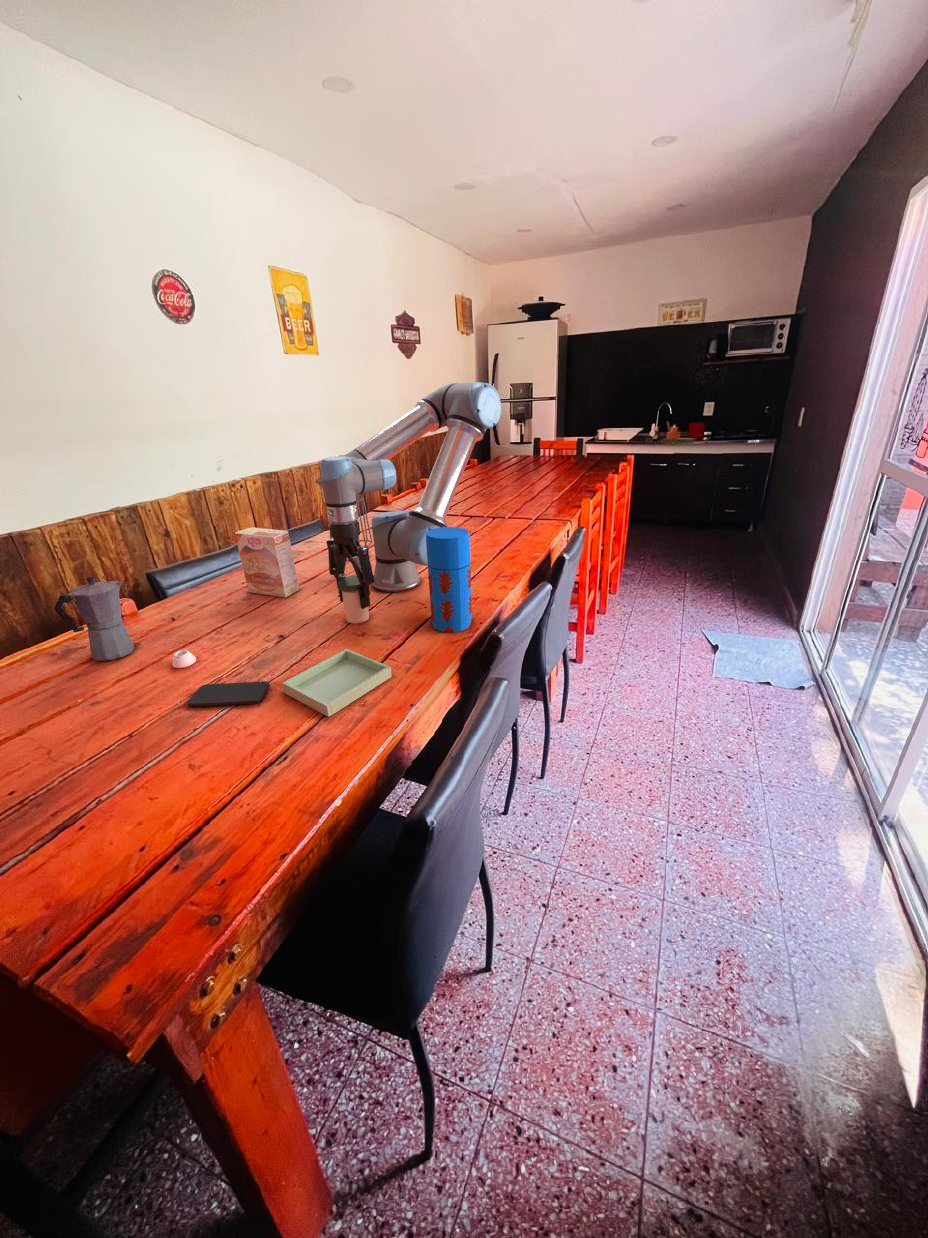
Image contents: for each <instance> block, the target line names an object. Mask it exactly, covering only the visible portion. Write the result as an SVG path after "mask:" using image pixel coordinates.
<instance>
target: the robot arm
mask: <svg viewBox="0 0 928 1238" xmlns="http://www.w3.org/2000/svg"><path fill="white" fill-rule="evenodd" d="M500 397H501V396H500V394H499V392H498V390H497V388H496V387H495V386H493V385H492V384H491V383H488V382H480V381H475V382H462V383H461V382H460V383H459V382H458V383H457V382H455V383H453V382H452V383H448V384H445V385H443V386H441V387H439V388H437V389H436V390H434V391H432V392H431V393H429V394H428V395H426V396H425V397H423V398H421V399H420V400H418V401H417V402H416V403H415V405H414V408H413V409H412V410H410V411H409V412H407V413H406V414H405V415H403V416H402V417H400V418H398V419H397V420H395V421H394V422H393V423H391V424H390V425H388V426H386V427H385V428H384V429H382V430H381V431H379V432H378V433H376V434H375V435H373V436H372V437H370V438H368V439H367V440H366V441H364V442H363V443H361V444H360V445H358V446H356V447H355V448H354V449H352V450H351V451H348V452H347V453H346V454H344V455H335V456H328V457H324V458H322V459H321V460H320V464H319V466H320V477H321V479H320V480H322V484H323V487H322V489H323V496H324V501H325V506H326V513H327V521H328V522H329V521H330V524H329V523H328V530H329V529H330V531H329V537H330V536H331V537H332V539H331V540H330V539H328V540H326V543H325V544H326V546H327V550H328V551H327V553H328V569H329V571H328V572H329V575H330V576H333V577H334V579H335V581H336V587H337V590H338V596H339V597H338V598H339V602H341V603H343V597H342V591H341V590H340V589H339V583H338V582H339V580H340V579H342V578H345V577H346V575H347V574H346V573H345V570H346V565H347V561H346V560H349V561H348V562H349V563H351V566H352V568H353V570H354V573H355V576H357V578H358V580H359V583H360V585H358V589H359V597H360V604H361V608H362V609H364V608H366V607H368V608H369V607H370V606H371V598H370V595H371V590H370V585H371V584H372V587H373V588H374V589H375V590H377V591H380V592H384V593H399V592H400V593H401V592H407V591H410V590H413V589H414V588H416V587H418V586H419V585H420V584H421V576H420V573H419V571H418V568H417V566H416V565H422V566H425V567H426V566H427V567H428V562H427V547H426V533H427V532H428V531H429V530H432V529H435V528H440V527H448V523H447V521H446V518H447V515H448V513H449V509H450V507H451V505H452V502H453V500H454V497H455V495H456V493H457V490H458V487H459V485H460V482H461V480H462V478H463V475H464V472H465V470H466V468H467V465H468V462H469V460H470V457H471V455H472V452H473V450H474V448H475V446H476V443H478V442H479V441H482V440H483V439H484V438H485V437H484V436H485V434H486V431H487V429H491V428H493V427H495V426H497V424H498V423H499V421H500V419H501V416H502V402H501V398H500ZM445 427H447V432H446V435H445V437H444V440H443V443H442V444H441V446H440V449H439V452H438V455H437V457H436V460H435V462H434V464H433V467H432V470H431V471H430V472H431V473H430V474H429V478H428V480H427V482H426V485H425V488H424V490H423V492H422V494H421V498H420V500H419V502H418V504H417V507H415V508H413V509H410V511H407V510H392V511H386V512H381V513H377V514H374V516H372V517H371V527H370V530H371V534H372V542H373V548H374V556H375V567H374V571H373V568H372V564H371V560H370V555H369V554H370V553H369V550H370V549H369V548H370V547H369V548H368V545H367V546H365V545H361V542H360V543H359V541H358V537H359V538H360V535H361V528H360V527H361V526H360V520H359V519H360V517H359V512H358V507H357V503H356V501H357V497H356V496H358V494H359V495H360V494H361V495H363V493H364V494H368V493H374V492H379V491H382V492H383V491H386V490H389V489H391V488H393V487H394V486H395V485H396V482H397V470H396V467H395V465H394V463H393V462H392V461H391V459H392V458H393V457H395V456H397V455H398V454H399V453H400V452H402V451H403V450H405V449H407V448H408V447H409V446H411V445H412V444H414V443H415V442H416V441H418V440H419V439H422V437H424V436H425V435H426V434H428V433H436V432H437V431H438V430H440V429H442V428H445ZM356 555H357V556H356ZM373 572H374V573H373ZM363 580H364V581H363Z"/></svg>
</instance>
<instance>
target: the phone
mask: <svg viewBox="0 0 928 1238" xmlns="http://www.w3.org/2000/svg"><path fill="white" fill-rule="evenodd" d="M270 686H271V685H270V682H269V681H266V680H265V681H263V680H262V681H248V682H247V681H245V682H225V683H224V682H223V683H209V684H202V685H200V686H199V687H198V689H196V691H195V692H194V694H193V695H192V696H191V697H190V698H189V699H188V701H187V705H188V706H189V707H193V708H194V707H195V708H196V707H211V706H212V707H214V706H215V707H216V706H230V705H249V704H250V705H251V704H258V703H260V702H261V701H262V700H263V699H264V697H265V695H266V693H267V691H268V690H269V688H270Z"/></svg>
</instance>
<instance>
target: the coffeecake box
mask: <svg viewBox="0 0 928 1238" xmlns="http://www.w3.org/2000/svg"><path fill="white" fill-rule="evenodd" d="M233 534H234V537H235V541H236V545H237V549H238V554H239V556H240V562H241V567H242V570H243V575H244V578H245V582H246V586H247V591H248V593H251V594H258V595H259V594H260V595H267V596H274V597H279V598H284V599H285V598H287V597H289V596H292V594H294V593H296V592H299V591H300V586H299V581H298V580H299V579H298V575H297V570H296V565H295V561H294V555H293V554H294V553H293V550H292V544H291V539H290V534H289V530H282V529H271V528H262V527H261V528H260V527H252V526H251V527H247V528H244V529H242V530H241V529H240V530H237V531H235V532H234V533H233Z"/></svg>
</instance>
